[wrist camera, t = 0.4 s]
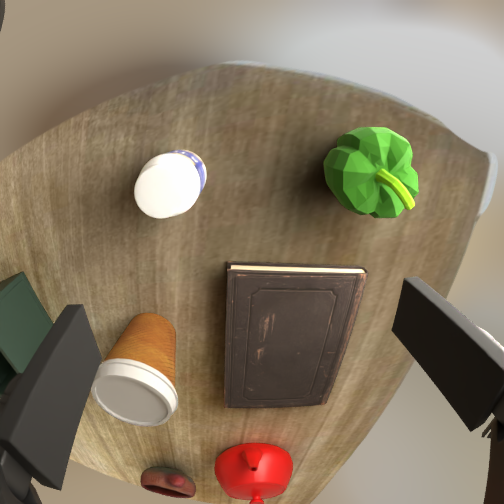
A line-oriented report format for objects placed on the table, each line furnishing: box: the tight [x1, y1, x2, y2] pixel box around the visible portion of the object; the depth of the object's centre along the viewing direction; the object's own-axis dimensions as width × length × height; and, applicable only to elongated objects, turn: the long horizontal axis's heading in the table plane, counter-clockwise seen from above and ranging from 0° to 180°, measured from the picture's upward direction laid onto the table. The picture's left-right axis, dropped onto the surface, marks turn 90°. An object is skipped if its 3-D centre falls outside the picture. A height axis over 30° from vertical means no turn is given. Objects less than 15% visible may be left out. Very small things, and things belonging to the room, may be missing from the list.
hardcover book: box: [224, 261, 368, 408], centre depth 36 cm, size 16×23×2 cm
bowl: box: [141, 467, 196, 498], centre depth 48 cm, size 16×13×8 cm
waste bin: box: [0, 272, 53, 398], centre depth 29 cm, size 14×14×11 cm
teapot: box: [214, 443, 293, 504], centre depth 44 cm, size 25×16×12 cm, turn 2°
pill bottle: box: [134, 150, 206, 219], centre depth 24 cm, size 5×5×9 cm
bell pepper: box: [323, 127, 419, 218], centre depth 24 cm, size 8×8×10 cm
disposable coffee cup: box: [91, 313, 178, 427], centre depth 30 cm, size 10×10×12 cm
